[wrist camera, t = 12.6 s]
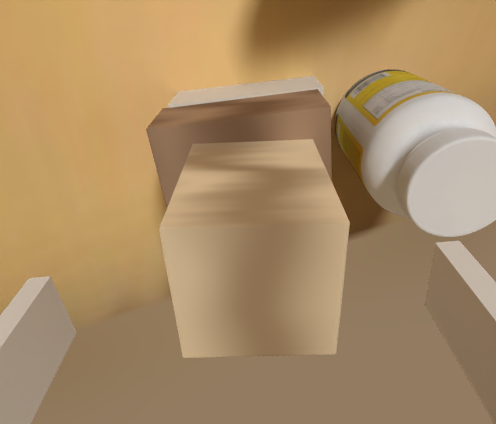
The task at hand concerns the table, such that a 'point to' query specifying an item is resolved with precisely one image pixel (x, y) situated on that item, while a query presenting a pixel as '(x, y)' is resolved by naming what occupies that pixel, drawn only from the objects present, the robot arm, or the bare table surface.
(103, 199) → the table surface
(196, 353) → the oak block
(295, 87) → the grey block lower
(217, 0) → the table surface
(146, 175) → the table surface
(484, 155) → the pill bottle
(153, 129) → the walnut block upper
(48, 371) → the robot arm
